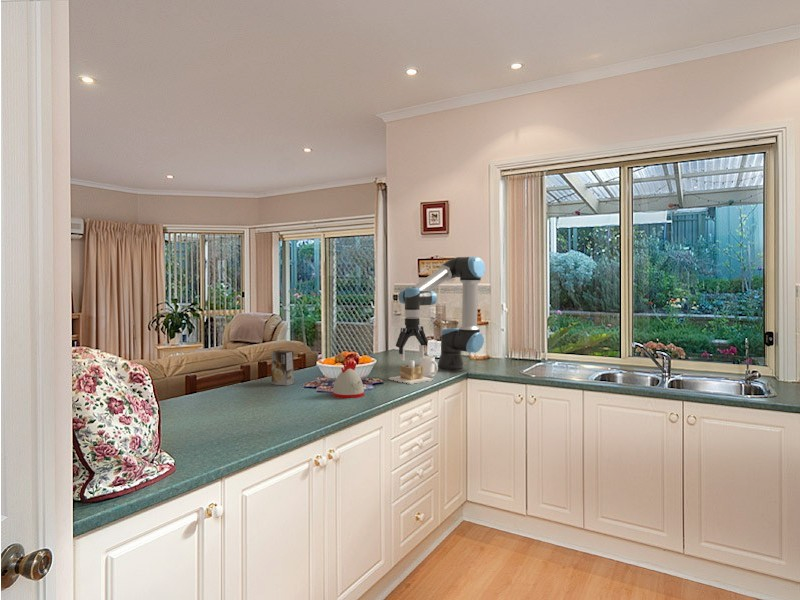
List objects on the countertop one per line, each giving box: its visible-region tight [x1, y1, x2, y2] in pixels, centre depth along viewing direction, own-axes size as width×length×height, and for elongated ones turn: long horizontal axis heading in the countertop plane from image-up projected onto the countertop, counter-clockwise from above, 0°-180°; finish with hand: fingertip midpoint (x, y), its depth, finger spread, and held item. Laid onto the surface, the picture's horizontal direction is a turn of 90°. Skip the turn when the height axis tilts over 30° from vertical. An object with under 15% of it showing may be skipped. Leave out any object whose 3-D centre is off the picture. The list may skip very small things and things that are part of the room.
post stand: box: [388, 359, 434, 385], centre depth 267 cm, size 16×16×10 cm
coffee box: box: [270, 349, 295, 387], centre depth 253 cm, size 9×6×16 cm
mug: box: [418, 355, 439, 378], centre depth 277 cm, size 12×8×10 cm
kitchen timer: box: [332, 361, 365, 399], centre depth 232 cm, size 14×14×15 cm
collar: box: [399, 364, 423, 380], centre depth 267 cm, size 8×8×6 cm
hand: (412, 359), depth 267 cm, fingers open, 13 cm apart
